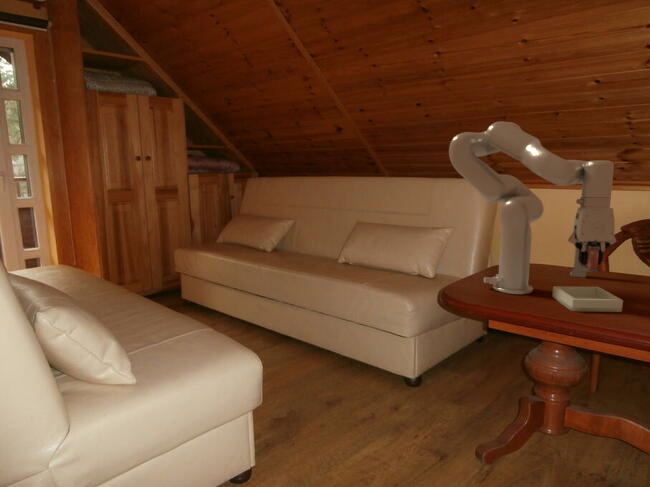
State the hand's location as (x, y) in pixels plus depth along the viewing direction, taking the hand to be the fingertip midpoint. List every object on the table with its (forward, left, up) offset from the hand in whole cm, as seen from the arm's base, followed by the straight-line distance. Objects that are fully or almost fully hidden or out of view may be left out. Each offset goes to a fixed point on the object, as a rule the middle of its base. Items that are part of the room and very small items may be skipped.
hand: (589, 263), depth 139 cm
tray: (0, 0, -13) cm, 13 cm away
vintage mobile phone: (+13, +34, -13) cm, 39 cm away
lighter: (0, 0, -2) cm, 2 cm away
